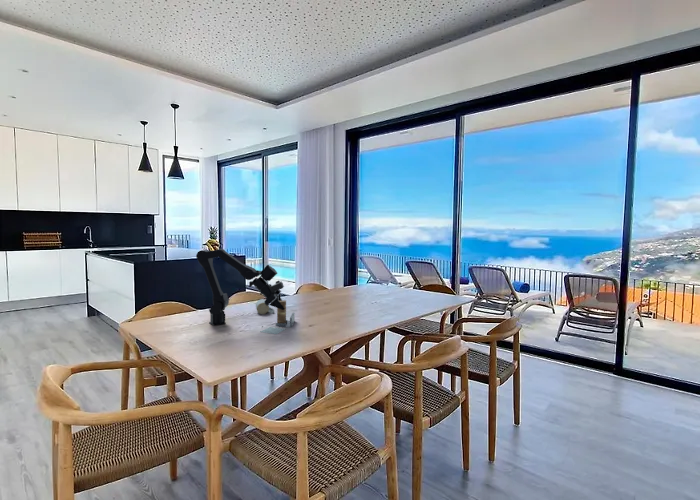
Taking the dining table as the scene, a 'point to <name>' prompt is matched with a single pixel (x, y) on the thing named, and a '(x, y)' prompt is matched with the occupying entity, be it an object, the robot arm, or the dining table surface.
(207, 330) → the dining table surface
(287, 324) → the bracket
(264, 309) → the ceramic mug
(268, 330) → the mat
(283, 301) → the tan rectangular block
